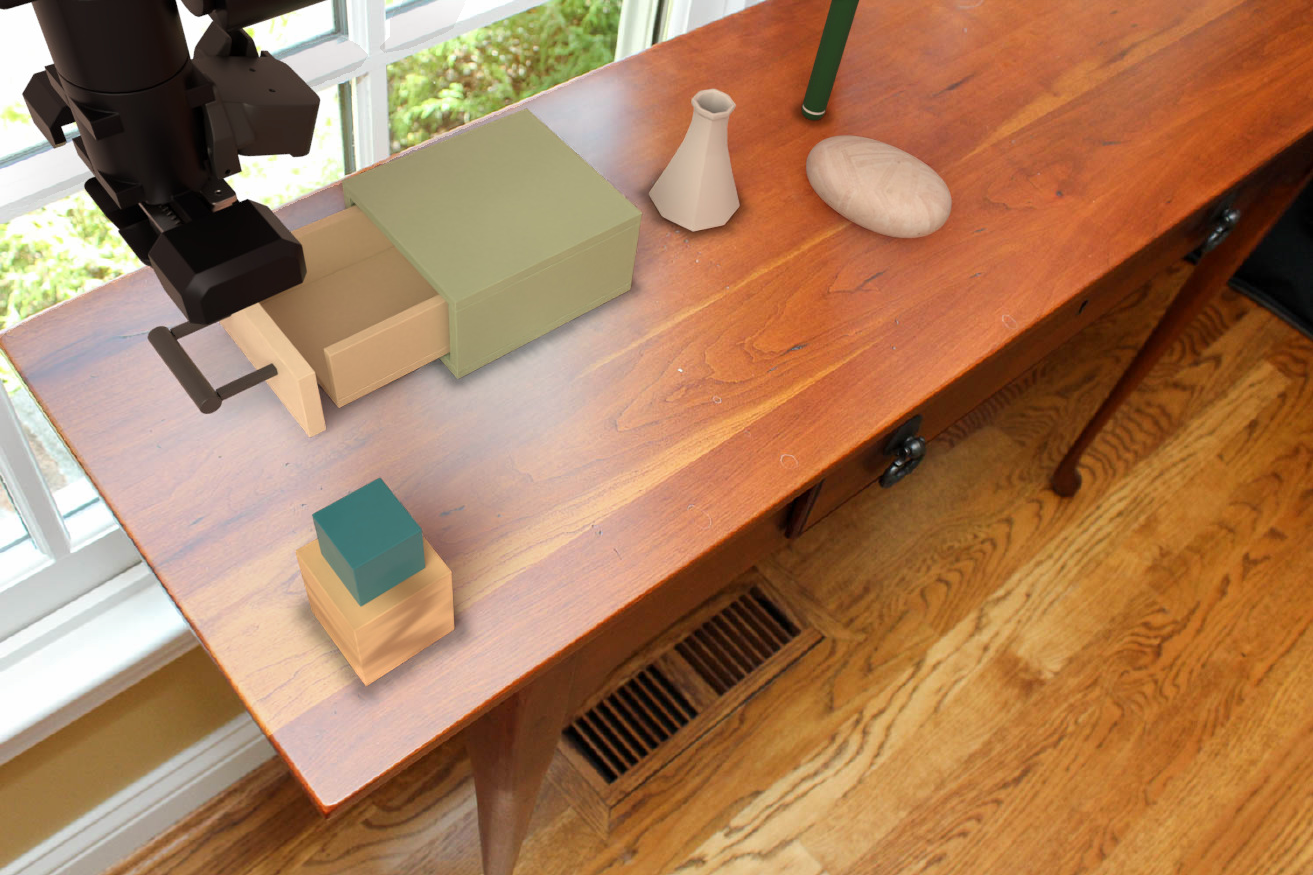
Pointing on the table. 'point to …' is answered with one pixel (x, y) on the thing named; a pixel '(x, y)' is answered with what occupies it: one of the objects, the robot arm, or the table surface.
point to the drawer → (327, 325)
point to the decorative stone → (878, 186)
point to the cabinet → (503, 232)
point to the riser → (380, 613)
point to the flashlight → (828, 57)
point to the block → (370, 541)
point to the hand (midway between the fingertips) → (196, 293)
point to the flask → (700, 169)
